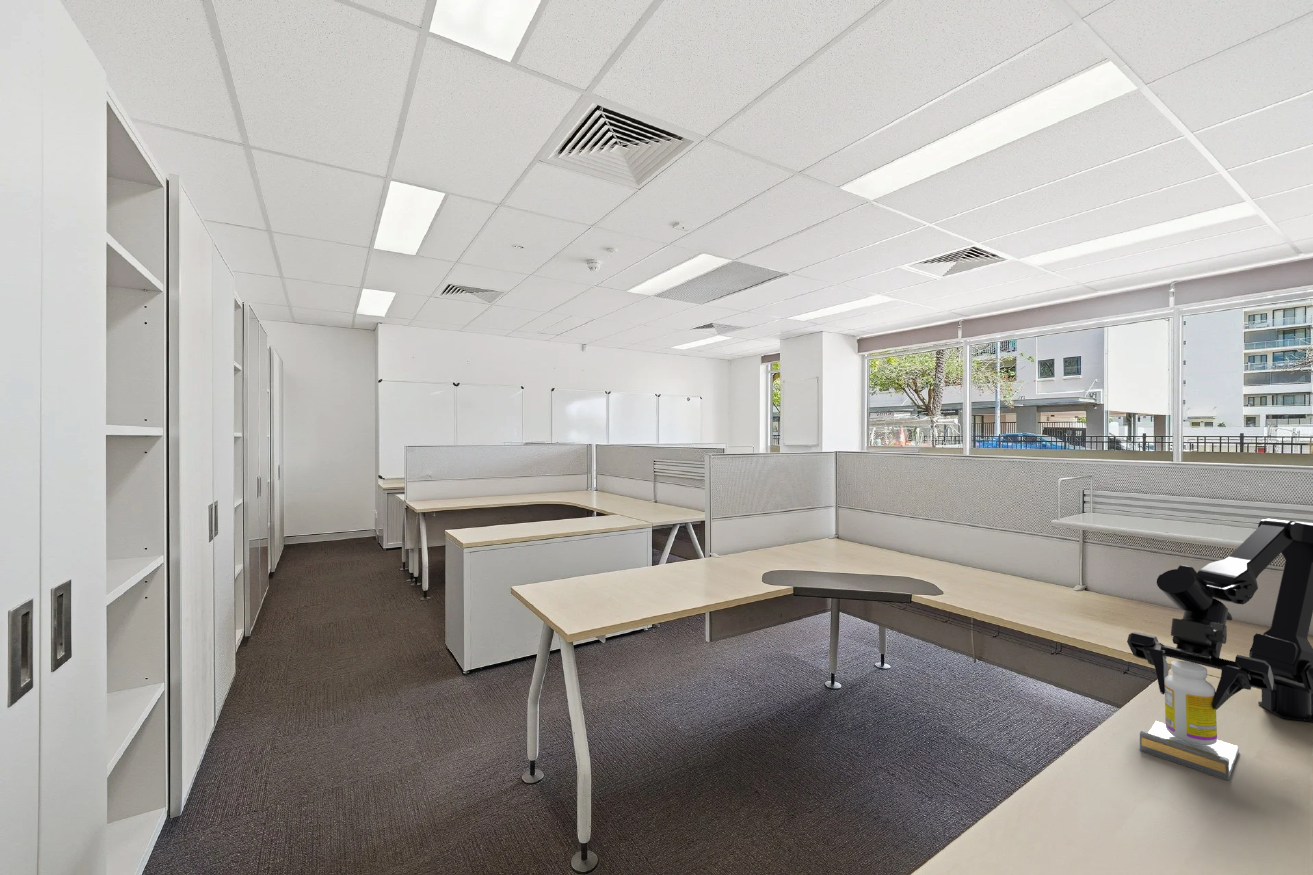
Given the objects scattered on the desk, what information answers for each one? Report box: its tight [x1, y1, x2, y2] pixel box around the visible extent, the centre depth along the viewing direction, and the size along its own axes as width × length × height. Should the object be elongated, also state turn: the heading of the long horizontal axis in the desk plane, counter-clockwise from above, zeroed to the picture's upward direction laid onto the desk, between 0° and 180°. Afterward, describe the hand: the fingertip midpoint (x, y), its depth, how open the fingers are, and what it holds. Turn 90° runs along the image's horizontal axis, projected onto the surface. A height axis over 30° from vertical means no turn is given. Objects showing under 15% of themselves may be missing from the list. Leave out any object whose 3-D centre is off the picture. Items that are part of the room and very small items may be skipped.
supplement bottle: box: [1164, 660, 1218, 745], centre depth 98 cm, size 7×7×13 cm
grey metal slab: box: [1139, 720, 1240, 781], centre depth 97 cm, size 13×11×3 cm
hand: (1187, 700), depth 98 cm, fingers closed on supplement bottle, 6 cm apart
